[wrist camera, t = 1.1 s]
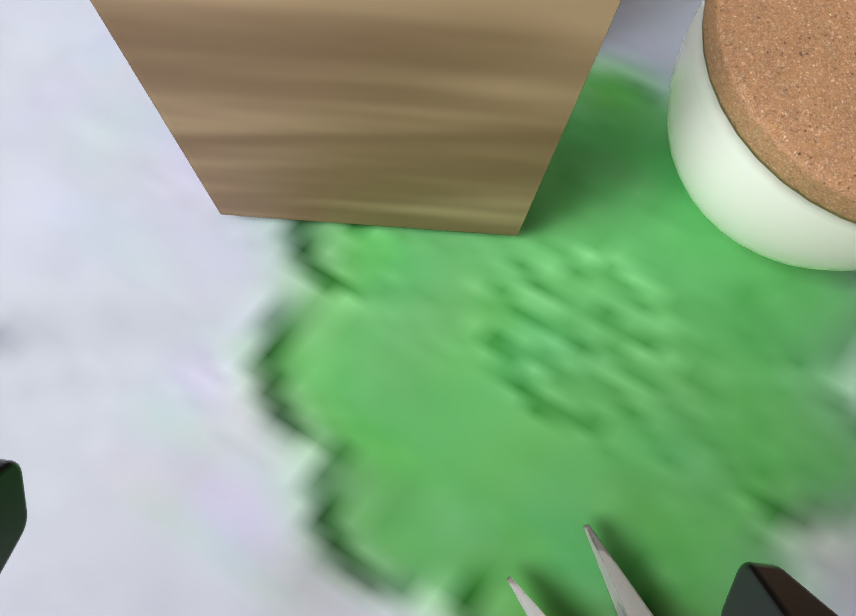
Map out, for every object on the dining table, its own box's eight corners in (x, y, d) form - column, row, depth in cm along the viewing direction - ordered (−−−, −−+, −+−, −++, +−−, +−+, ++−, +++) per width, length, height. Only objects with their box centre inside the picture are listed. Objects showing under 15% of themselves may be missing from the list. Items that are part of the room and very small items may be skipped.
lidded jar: (567, 199, 25) (663, 25, 16) (712, -6, 28) (865, -255, 18) (837, 373, 24) (1110, 291, 15) (962, 141, 26) (1259, -51, 17)
